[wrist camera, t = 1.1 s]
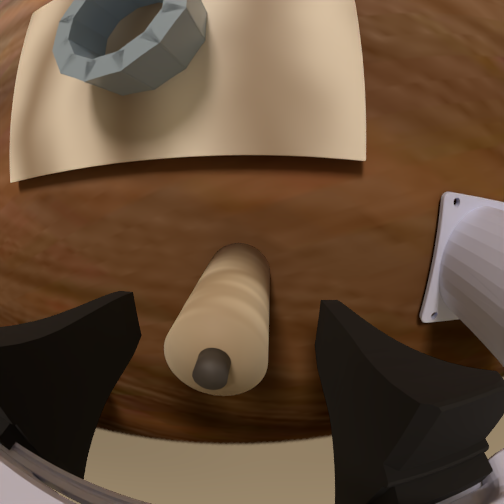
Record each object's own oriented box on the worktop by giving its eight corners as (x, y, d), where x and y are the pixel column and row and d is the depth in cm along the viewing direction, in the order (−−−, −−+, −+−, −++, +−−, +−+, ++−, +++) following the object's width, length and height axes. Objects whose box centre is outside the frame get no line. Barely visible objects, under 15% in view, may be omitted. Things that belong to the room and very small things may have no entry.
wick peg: (270, 243, 14) (269, 335, 7) (269, 300, 15) (265, 416, 8) (208, 242, 14) (145, 325, 7) (211, 298, 15) (166, 405, 8)
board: (341, -42, 8) (343, -49, 8) (360, 160, 13) (365, 160, 12) (38, 15, 10) (33, 12, 9) (18, 181, 14) (10, 182, 13)
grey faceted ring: (210, -19, 9) (195, -54, 6) (203, 83, 11) (181, 59, 8) (100, 8, 10) (70, -13, 6) (85, 105, 12) (44, 97, 8)
